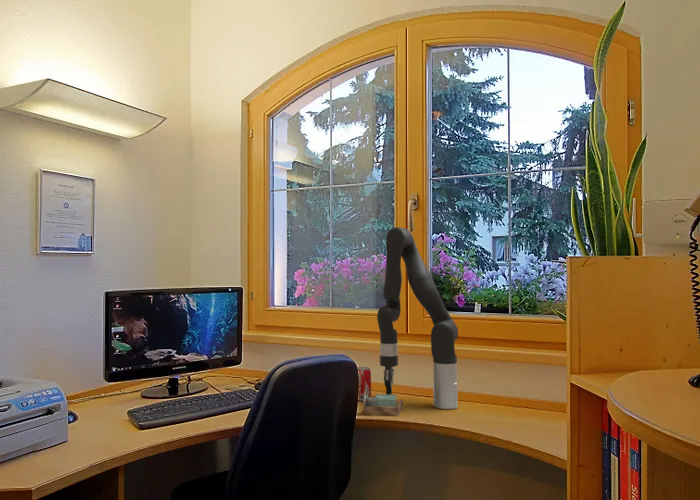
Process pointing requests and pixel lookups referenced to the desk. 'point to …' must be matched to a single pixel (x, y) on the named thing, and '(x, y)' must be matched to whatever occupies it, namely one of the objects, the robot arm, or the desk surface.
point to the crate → (386, 400)
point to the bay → (380, 407)
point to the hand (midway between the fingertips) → (389, 396)
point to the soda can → (364, 382)
